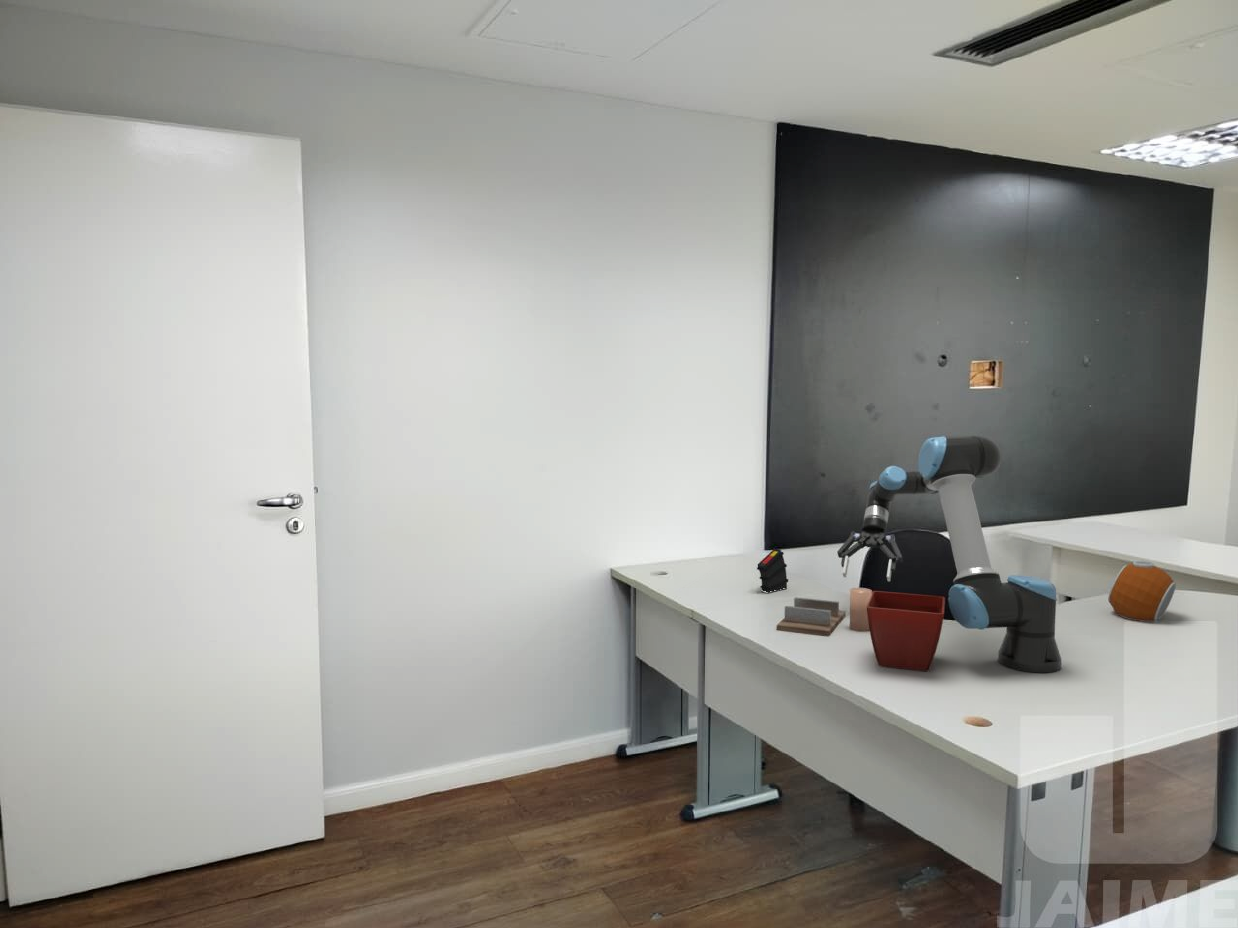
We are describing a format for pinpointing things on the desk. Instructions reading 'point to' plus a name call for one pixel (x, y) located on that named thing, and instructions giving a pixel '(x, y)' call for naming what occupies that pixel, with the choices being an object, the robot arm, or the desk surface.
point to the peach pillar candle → (859, 609)
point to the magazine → (773, 571)
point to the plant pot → (905, 628)
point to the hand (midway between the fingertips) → (866, 577)
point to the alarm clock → (1141, 592)
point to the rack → (812, 617)
